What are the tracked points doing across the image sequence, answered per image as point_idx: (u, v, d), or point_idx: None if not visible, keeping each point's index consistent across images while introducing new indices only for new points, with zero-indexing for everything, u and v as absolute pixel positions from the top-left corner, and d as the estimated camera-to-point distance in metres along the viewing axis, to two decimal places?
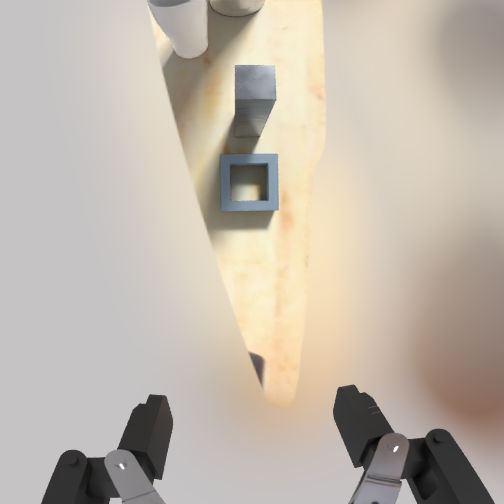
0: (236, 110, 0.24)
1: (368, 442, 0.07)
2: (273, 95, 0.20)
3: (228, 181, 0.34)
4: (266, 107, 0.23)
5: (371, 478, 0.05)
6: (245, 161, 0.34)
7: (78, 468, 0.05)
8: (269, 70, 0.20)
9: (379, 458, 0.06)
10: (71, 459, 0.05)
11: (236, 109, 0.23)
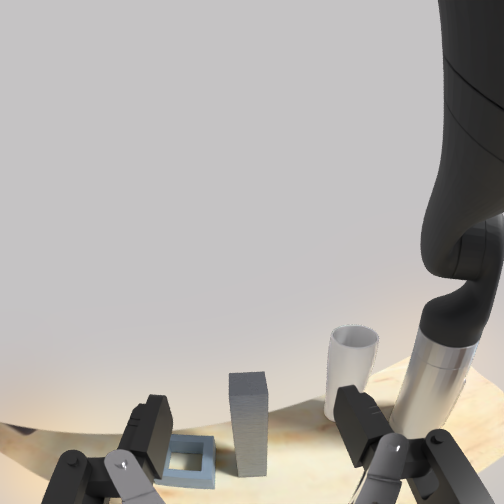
0: None
1: (368, 442, 0.07)
2: (232, 394, 0.22)
3: (186, 440, 0.28)
4: None
5: (371, 478, 0.05)
6: (204, 453, 0.26)
7: (78, 468, 0.05)
8: (262, 390, 0.22)
9: (379, 458, 0.06)
10: (71, 459, 0.05)
11: None
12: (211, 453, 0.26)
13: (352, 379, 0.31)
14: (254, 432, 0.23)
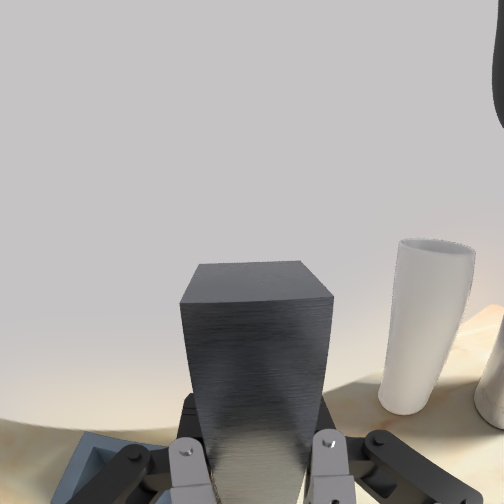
0: None
1: None
2: (196, 298, 0.06)
3: None
4: None
5: (319, 478, 0.06)
6: None
7: (141, 462, 0.06)
8: (307, 290, 0.06)
9: (310, 452, 0.07)
10: (133, 454, 0.06)
11: None
12: None
13: (444, 324, 0.15)
14: (273, 451, 0.07)
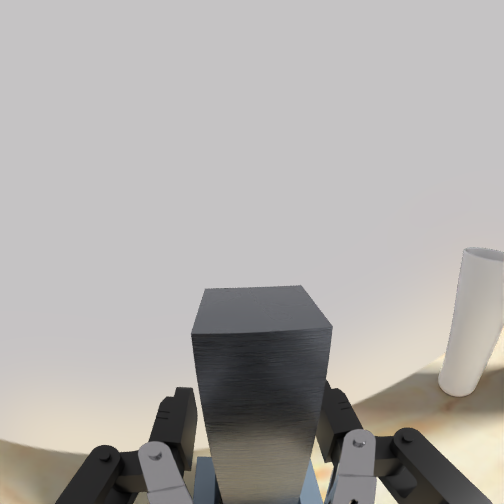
0: None
1: (334, 437, 0.08)
2: (206, 329, 0.06)
3: None
4: None
5: (343, 477, 0.05)
6: None
7: (111, 463, 0.06)
8: (308, 320, 0.07)
9: (342, 453, 0.07)
10: (104, 455, 0.06)
11: None
12: (315, 486, 0.11)
13: (499, 316, 0.15)
14: (274, 462, 0.07)
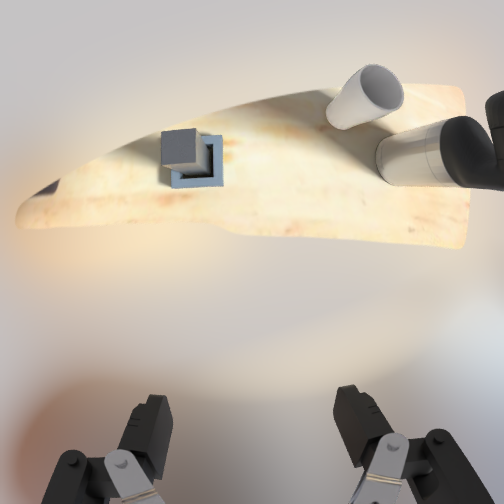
0: None
1: (368, 442, 0.07)
2: (164, 162, 0.25)
3: None
4: None
5: (371, 478, 0.05)
6: (214, 157, 0.37)
7: (78, 468, 0.05)
8: (190, 157, 0.25)
9: (379, 458, 0.06)
10: (71, 459, 0.05)
11: None
12: (221, 156, 0.37)
13: (361, 118, 0.30)
14: (192, 168, 0.30)
